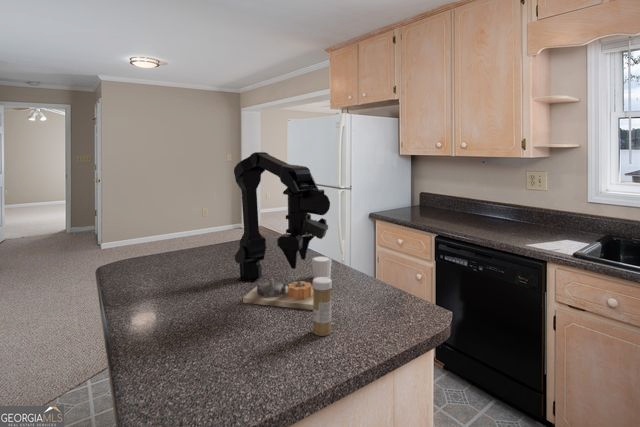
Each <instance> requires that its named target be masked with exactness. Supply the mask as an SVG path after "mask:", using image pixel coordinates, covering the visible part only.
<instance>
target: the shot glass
mask: <svg viewBox="0 0 640 427" xmlns="http://www.w3.org/2000/svg"><path fill="white" fill-rule="evenodd" d="M311 262H312V263H311V264H312V272H313V273H312V275H313V279H314V278H317V277H327V278H330V279H331V272H332V271H331V270H332V262H333V259H332V257H330V256H324V255H321V256H314V257H312V258H311Z"/></svg>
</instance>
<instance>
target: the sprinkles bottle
mask: <svg viewBox="0 0 640 427" xmlns="http://www.w3.org/2000/svg"><path fill="white" fill-rule="evenodd" d="M332 282H333V281H332V279H331V277H330V278H327V277H317V278H314V277H313V279H312V288H313V310H312V311H313V312H312V314H313V315H312V316H313V317H312V318H313V329H312V332H313V334H314V335H316V336H320V337H324V336H325V337H326V336H329V335H330V334H332V326H331V325H332V324H331V323H332V288H333V285H332Z"/></svg>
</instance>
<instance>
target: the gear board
mask: <svg viewBox="0 0 640 427" xmlns="http://www.w3.org/2000/svg"><path fill="white" fill-rule="evenodd" d="M296 282H297V287H302V280H298V281H296ZM242 303H244V304H253V305H263V306H270V307H271V306H272V307H273V306H274V307H281V308H282V307H283V308H290V309H302V310H311V311H313V287H312V296H311V297H308V298H307V299H298V300H297V299H295V298H290V297H289V296H288V285H286V282H279V281H278V280H274V278H269V279H268V281H267V280H266V281H264V282H263V283H258V284H257V285H256V286H254V288H253V289H251V290H250V291H249V292H248V293H246V294H245V295H244V296H243V297H242Z"/></svg>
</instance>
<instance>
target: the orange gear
mask: <svg viewBox="0 0 640 427" xmlns="http://www.w3.org/2000/svg"><path fill="white" fill-rule="evenodd" d="M301 281H302V280H301ZM297 282H298V281H293V282H291V283H288V284H287V286H288V296H289V297H290V298H295V299H297V300H298V299H307V298H308V297H311V296H312V288H313V285H312V283H311V282H307V281H302V287H297Z"/></svg>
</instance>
